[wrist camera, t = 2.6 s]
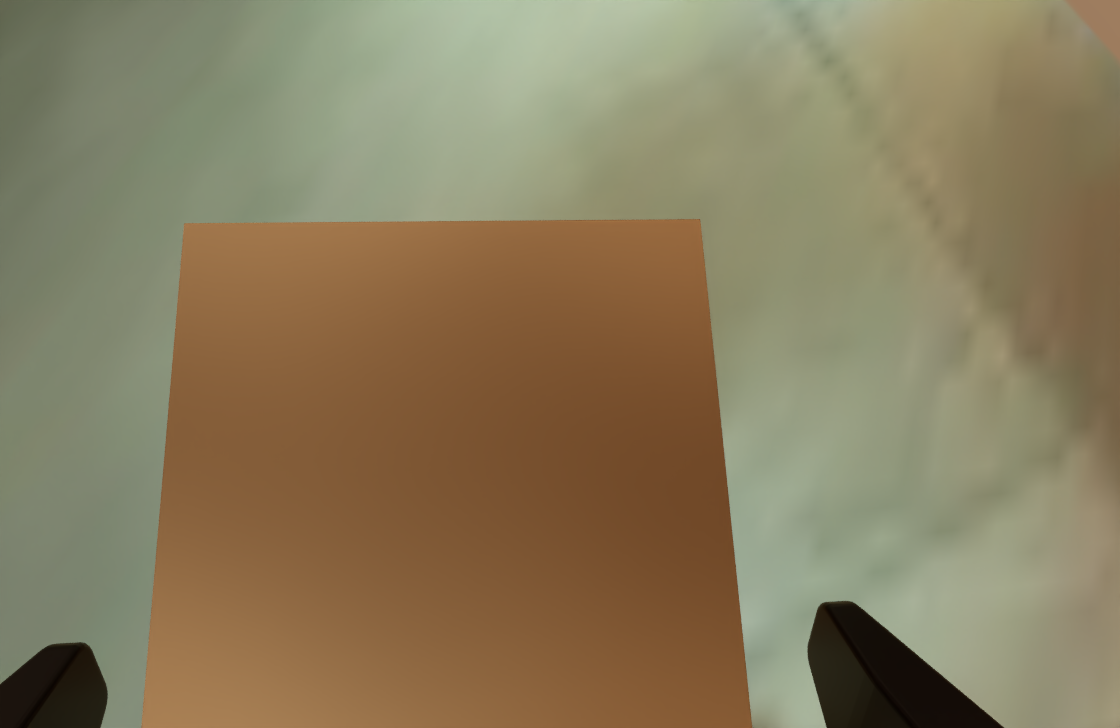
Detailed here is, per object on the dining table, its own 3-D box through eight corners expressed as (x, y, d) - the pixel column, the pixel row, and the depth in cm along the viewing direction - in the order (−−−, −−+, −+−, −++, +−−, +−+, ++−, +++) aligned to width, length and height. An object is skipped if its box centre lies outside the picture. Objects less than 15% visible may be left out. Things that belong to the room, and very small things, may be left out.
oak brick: (578, 636, 18) (757, 764, 6) (385, 647, 18) (134, 809, 5) (569, 447, 20) (700, 219, 7) (387, 453, 19) (184, 223, 7)
